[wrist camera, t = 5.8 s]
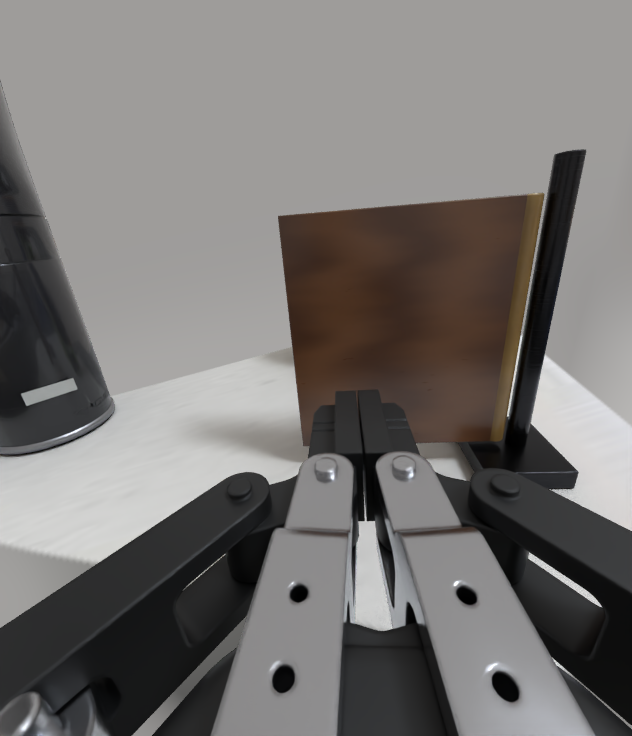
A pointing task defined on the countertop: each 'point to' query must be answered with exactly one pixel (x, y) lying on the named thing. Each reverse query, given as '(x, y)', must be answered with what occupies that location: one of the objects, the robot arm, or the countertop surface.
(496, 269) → the door
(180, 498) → the countertop surface
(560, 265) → the hinge post
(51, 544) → the countertop surface
